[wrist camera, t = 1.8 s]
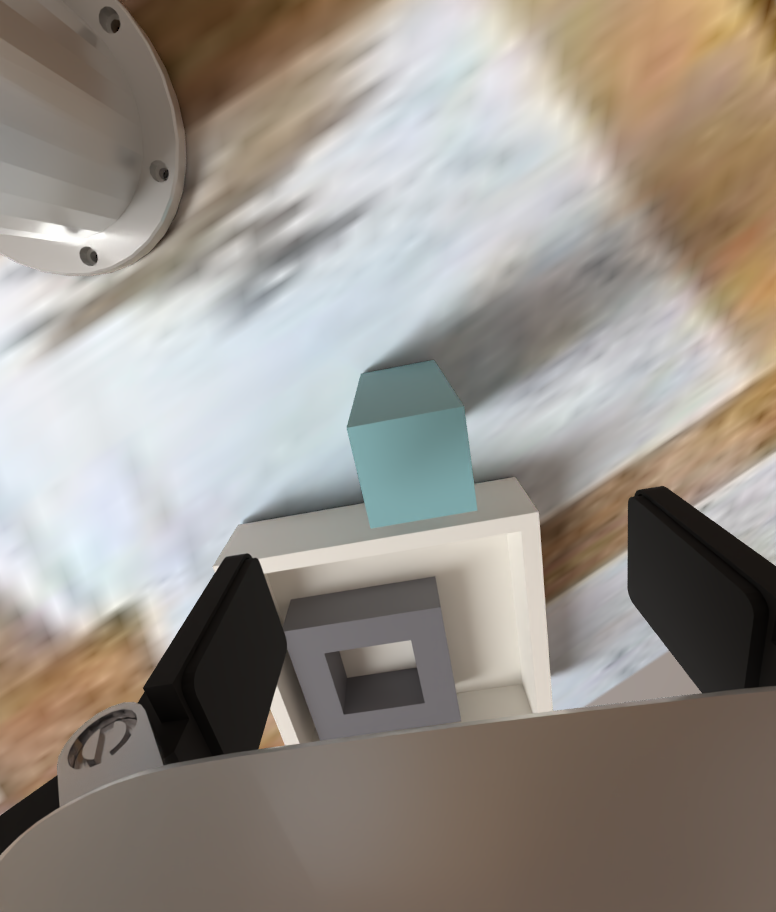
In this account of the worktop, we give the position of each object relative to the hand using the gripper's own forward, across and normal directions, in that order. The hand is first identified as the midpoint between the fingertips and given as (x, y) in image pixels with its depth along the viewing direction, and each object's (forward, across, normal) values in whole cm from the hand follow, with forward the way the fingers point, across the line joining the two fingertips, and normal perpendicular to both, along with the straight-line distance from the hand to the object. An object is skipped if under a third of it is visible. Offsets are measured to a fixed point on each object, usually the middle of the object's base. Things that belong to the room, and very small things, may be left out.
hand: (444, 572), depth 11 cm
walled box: (+16, +4, +14) cm, 22 cm away
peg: (+16, 0, -1) cm, 16 cm away
